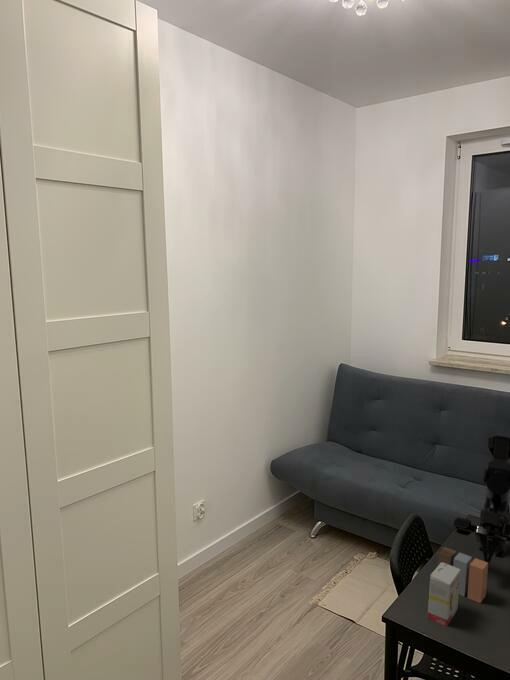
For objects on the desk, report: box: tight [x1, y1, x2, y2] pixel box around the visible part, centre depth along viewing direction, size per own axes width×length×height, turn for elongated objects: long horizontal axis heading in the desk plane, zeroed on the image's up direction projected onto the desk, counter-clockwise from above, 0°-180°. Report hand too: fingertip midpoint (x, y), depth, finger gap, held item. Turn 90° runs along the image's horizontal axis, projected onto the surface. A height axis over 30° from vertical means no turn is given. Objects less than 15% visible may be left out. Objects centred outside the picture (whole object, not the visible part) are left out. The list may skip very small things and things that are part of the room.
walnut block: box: [437, 546, 457, 566], centre depth 135 cm, size 4×3×9 cm
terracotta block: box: [466, 557, 489, 604], centre depth 130 cm, size 4×3×9 cm
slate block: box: [453, 552, 473, 597], centre depth 133 cm, size 4×3×9 cm
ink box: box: [427, 563, 461, 627], centre depth 124 cm, size 9×5×12 cm, turn 142°
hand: (486, 565), depth 134 cm, fingers closed
